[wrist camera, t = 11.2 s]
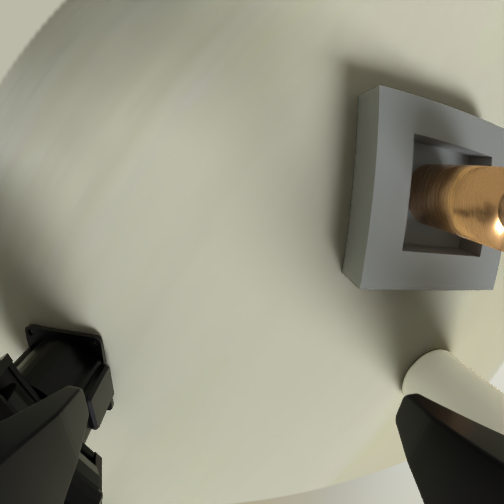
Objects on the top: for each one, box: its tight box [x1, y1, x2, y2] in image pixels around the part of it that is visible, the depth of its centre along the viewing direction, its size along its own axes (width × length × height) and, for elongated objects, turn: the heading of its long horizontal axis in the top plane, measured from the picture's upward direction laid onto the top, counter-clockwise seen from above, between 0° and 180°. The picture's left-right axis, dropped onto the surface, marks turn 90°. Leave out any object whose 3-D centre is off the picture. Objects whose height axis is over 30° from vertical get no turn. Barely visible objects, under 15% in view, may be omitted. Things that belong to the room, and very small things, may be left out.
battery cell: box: [408, 164, 504, 251], centre depth 14 cm, size 4×4×8 cm
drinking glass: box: [402, 349, 504, 435], centre depth 15 cm, size 7×7×15 cm
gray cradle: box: [342, 85, 504, 290], centre depth 17 cm, size 11×11×3 cm
